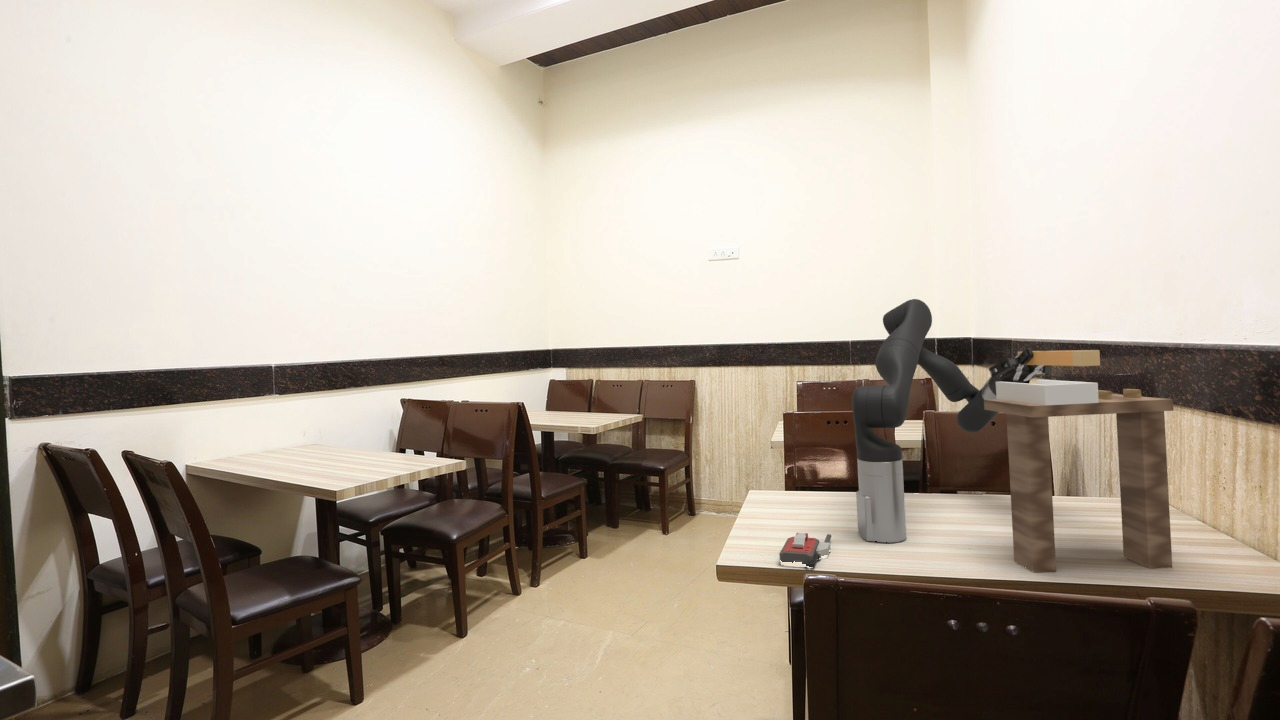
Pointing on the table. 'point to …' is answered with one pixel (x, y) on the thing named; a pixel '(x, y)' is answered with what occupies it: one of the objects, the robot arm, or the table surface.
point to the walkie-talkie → (804, 549)
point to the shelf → (1137, 475)
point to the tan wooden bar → (1065, 358)
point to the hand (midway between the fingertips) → (1039, 351)
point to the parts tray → (1048, 392)
